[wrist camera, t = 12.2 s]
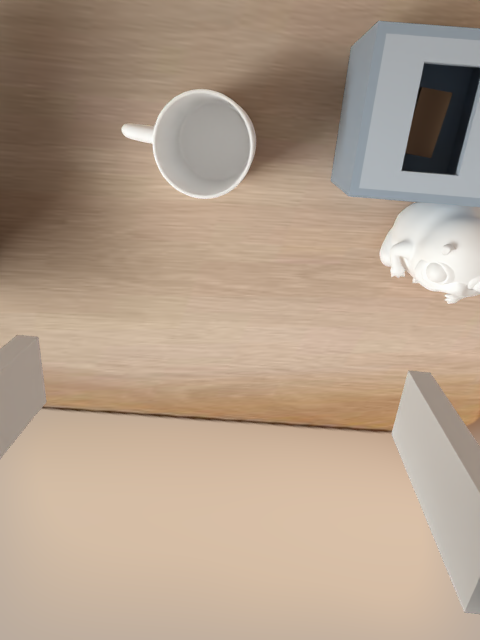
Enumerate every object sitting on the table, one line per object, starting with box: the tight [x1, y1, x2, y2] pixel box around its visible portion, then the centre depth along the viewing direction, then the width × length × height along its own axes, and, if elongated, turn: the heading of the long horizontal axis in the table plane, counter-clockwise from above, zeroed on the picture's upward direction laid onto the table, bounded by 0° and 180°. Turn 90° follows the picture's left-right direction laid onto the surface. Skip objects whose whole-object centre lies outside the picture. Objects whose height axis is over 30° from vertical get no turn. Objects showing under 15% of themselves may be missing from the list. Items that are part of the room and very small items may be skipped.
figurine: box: [380, 202, 480, 304], centre depth 42 cm, size 10×10×12 cm
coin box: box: [331, 21, 480, 207], centre depth 38 cm, size 12×12×11 cm
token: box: [405, 87, 452, 158], centre depth 39 cm, size 2×5×7 cm, turn 170°
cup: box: [122, 89, 256, 199], centre depth 40 cm, size 8×12×10 cm
